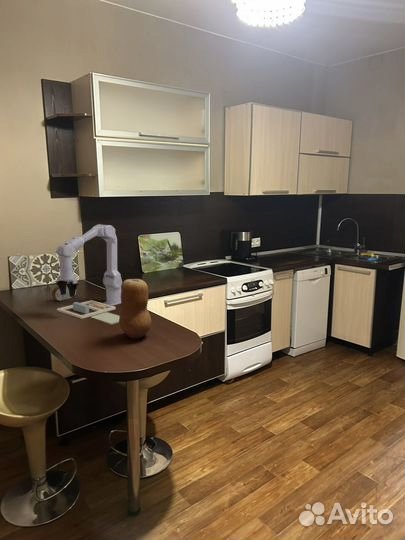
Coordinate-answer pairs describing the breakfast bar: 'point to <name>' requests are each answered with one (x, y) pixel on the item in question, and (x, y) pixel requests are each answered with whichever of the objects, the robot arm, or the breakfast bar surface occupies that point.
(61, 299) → the tin
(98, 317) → the mat
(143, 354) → the breakfast bar surface
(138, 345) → the breakfast bar surface
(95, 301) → the rack
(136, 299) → the butternut squash
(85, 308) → the grey rectangular block
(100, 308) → the offcut upper
